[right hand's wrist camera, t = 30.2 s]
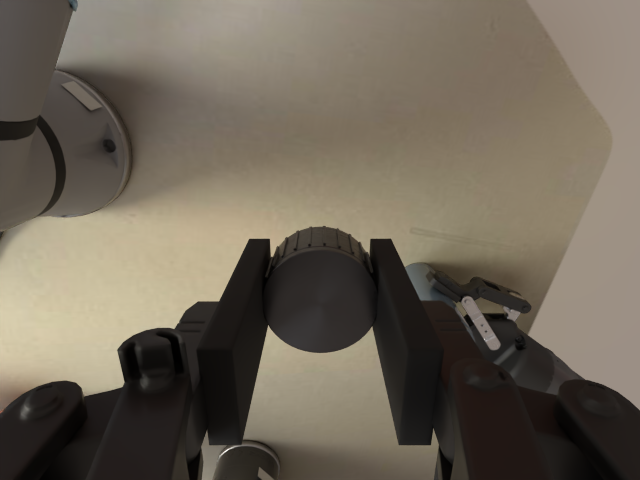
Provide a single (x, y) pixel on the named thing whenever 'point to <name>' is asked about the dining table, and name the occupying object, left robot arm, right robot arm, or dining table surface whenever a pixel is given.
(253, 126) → the dining table surface
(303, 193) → the dining table surface
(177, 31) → the dining table surface
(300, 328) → the cap
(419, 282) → the bottle
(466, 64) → the dining table surface
